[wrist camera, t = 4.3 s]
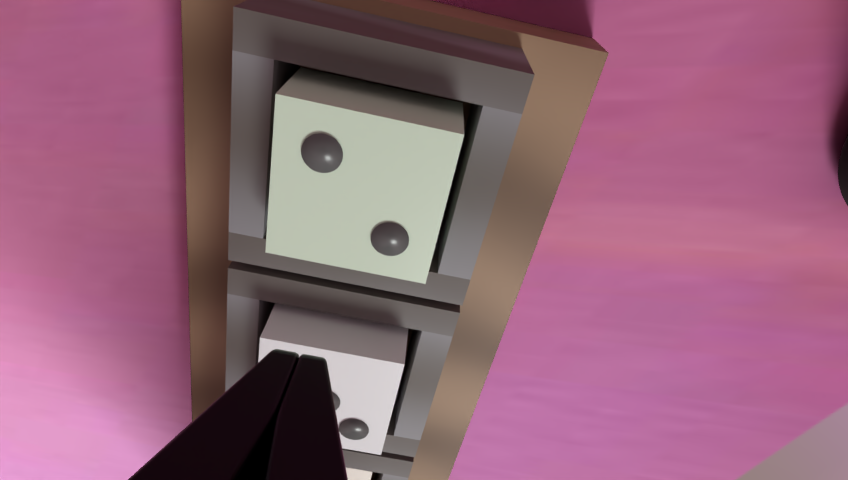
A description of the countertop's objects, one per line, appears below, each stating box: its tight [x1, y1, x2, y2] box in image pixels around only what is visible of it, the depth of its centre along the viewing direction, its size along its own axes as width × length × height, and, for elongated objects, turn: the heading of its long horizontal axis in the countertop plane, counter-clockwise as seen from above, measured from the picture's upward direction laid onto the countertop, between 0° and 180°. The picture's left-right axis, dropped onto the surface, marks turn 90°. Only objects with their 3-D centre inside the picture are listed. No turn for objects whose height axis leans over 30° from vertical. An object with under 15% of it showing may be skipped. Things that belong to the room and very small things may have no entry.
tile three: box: [258, 303, 408, 455], centre depth 19 cm, size 4×4×2 cm
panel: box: [181, 0, 608, 480], centre depth 21 cm, size 23×12×5 cm, turn 168°
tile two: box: [265, 67, 464, 284], centre depth 15 cm, size 4×4×2 cm
